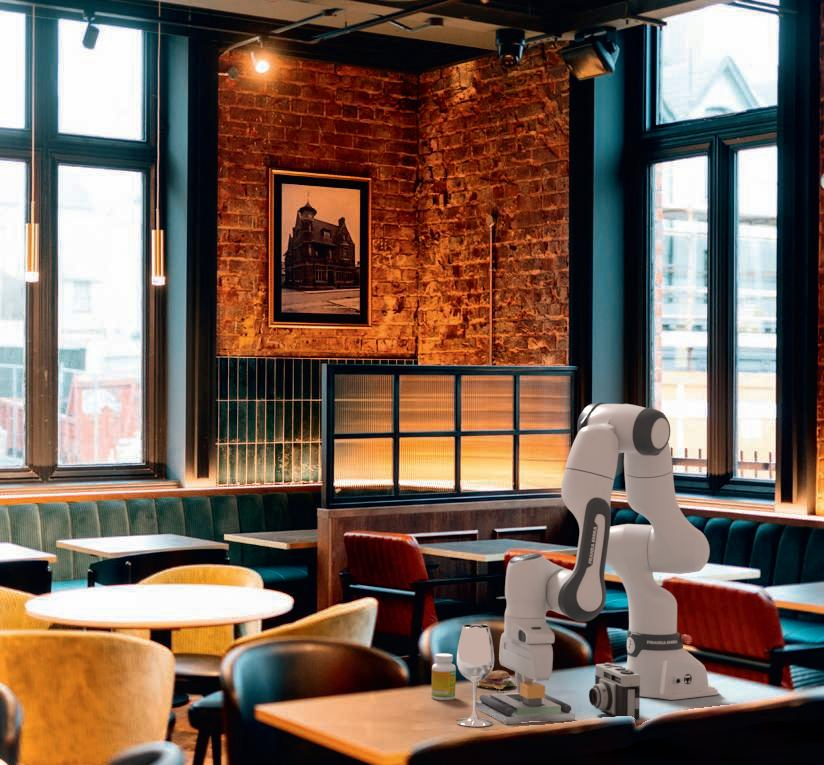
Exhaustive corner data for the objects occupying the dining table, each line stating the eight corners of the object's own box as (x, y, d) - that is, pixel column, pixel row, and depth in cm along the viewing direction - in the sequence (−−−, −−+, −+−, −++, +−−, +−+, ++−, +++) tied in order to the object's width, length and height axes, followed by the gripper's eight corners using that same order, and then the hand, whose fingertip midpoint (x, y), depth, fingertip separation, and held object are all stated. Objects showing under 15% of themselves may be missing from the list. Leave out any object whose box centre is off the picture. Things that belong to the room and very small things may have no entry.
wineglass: (453, 718, 277) (455, 623, 277) (490, 718, 277) (491, 623, 278) (457, 727, 269) (459, 628, 270) (495, 727, 270) (497, 629, 270)
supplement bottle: (453, 701, 295) (453, 657, 295) (429, 699, 296) (430, 656, 296) (457, 696, 300) (457, 653, 300) (433, 695, 301) (434, 652, 301)
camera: (578, 708, 291) (578, 662, 291) (612, 706, 293) (612, 661, 293) (605, 721, 277) (606, 674, 278) (641, 720, 280) (641, 672, 280)
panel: (542, 704, 293) (542, 690, 293) (575, 720, 278) (575, 705, 278) (475, 708, 288) (476, 694, 288) (505, 724, 273) (505, 709, 273)
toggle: (536, 706, 282) (537, 682, 282) (544, 710, 278) (545, 685, 278) (519, 707, 281) (519, 683, 281) (527, 711, 277) (527, 686, 277)
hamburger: (456, 690, 310) (456, 664, 310) (489, 681, 321) (489, 657, 321) (506, 698, 301) (506, 671, 301) (538, 689, 312) (539, 663, 312)
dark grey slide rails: (541, 698, 293) (541, 690, 293) (572, 712, 278) (572, 705, 278) (478, 701, 288) (478, 694, 288) (507, 716, 273) (507, 709, 273)
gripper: (492, 622, 293) (491, 685, 292) (530, 637, 273) (529, 704, 273) (518, 622, 295) (517, 684, 294) (558, 636, 275) (557, 703, 275)
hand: (523, 694), depth 283 cm, fingers closed
